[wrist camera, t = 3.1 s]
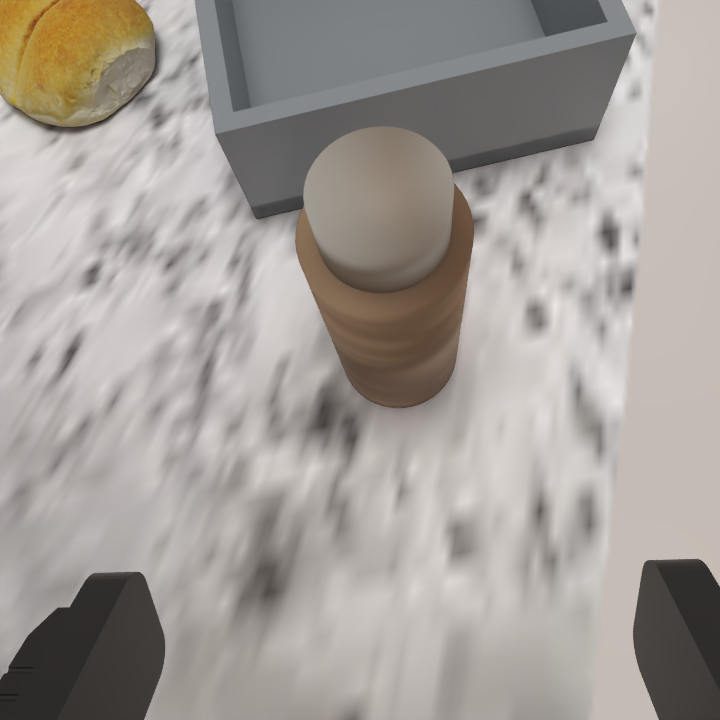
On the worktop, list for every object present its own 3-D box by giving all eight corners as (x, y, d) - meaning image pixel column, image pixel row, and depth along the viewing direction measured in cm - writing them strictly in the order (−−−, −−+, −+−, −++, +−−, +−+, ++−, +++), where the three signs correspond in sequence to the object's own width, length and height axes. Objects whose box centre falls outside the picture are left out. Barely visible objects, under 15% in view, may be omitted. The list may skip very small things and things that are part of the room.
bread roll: (80, -18, 35) (38, -88, 31) (188, 52, 33) (157, -15, 29) (-29, 79, 34) (-86, 18, 30) (76, 160, 31) (28, 104, 27)
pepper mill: (354, 419, 25) (296, 301, 14) (332, 314, 27) (265, 131, 15) (469, 393, 25) (504, 253, 14) (440, 289, 27) (451, 86, 15)
